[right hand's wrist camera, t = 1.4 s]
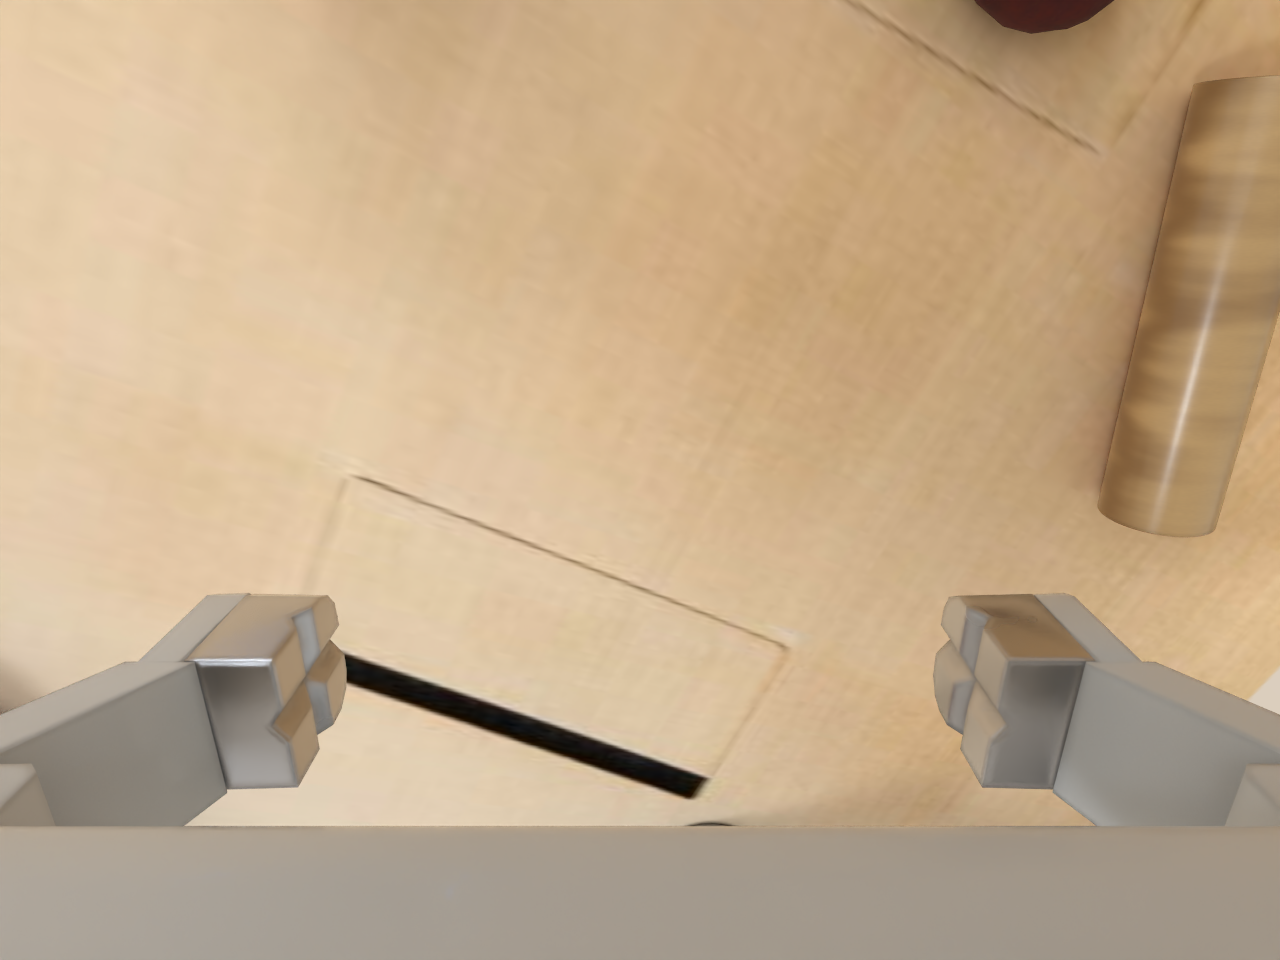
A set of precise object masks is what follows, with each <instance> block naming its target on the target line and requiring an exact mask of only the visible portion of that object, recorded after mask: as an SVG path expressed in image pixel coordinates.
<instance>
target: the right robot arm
mask: <svg viewBox="0 0 1280 960" xmlns="http://www.w3.org/2000/svg"><path fill="white" fill-rule="evenodd" d="M338 626H339V622H338V618H337V613H336V608H335V603H334V602H333V601H332V600H331V599H330V597H329V596H328V595H283V594H249V593H237V594H214V595H207V596H206V597H205V598H204V599H203V600H202V601H201V602H200V603H199V604H198V605H197V606H196V607H195V608H193V609H192V610H191V611H190V612H189V613H188V614H187V615H186V616H185V617H184V618H183V619H182V620H181V621H180V622H179V623H178V624H177V625H176V626H175V627H174V628H173V629H172V630H171V631H169V632H168V633H167V634H166V635H165V636H164V637H163V638H162V639H161V640H160V641H159V642H158V643H157V644H156V645H155V646H154V647H153V648H152V649H151V650H150V651H149V652H148V653H147V654H145V655H144V656H143V657H142V658H141V659H140V660H139V661H138V662H124V663H121V664H119V665H117V666H114V667H112V668H109V669H107V670H105V671H102V672H100V673H98V674H95V675H93V676H91V677H88V678H86V679H83V680H81V681H79V682H76V683H74V684H72V685H69V686H67V687H65V688H62V689H60V690H57V691H55V692H53V693H50V694H48V695H46V696H43V697H41V698H39V699H36V700H34V701H31V702H29V703H27V704H24V705H22V706H20V707H17V708H15V709H13V710H10V711H8V712H5V713H3V714H1V715H0V960H1280V715H1279V714H1277V713H1274V712H1272V711H1270V710H1267V709H1265V708H1262V707H1260V706H1258V705H1255V704H1253V703H1251V702H1248V701H1246V700H1244V699H1241V698H1239V697H1237V696H1234V695H1232V694H1229V693H1227V692H1225V691H1222V690H1220V689H1218V688H1215V687H1213V686H1211V685H1208V684H1206V683H1204V682H1201V681H1199V680H1196V679H1194V678H1192V677H1189V676H1187V675H1185V674H1182V673H1180V672H1178V671H1175V670H1173V669H1171V668H1168V667H1166V666H1163V665H1161V664H1159V663H1156V662H1142V661H1141V660H1140V659H1139V658H1138V657H1137V656H1136V655H1135V654H1134V653H1133V652H1132V651H1130V650H1129V649H1128V648H1127V647H1126V646H1125V645H1124V644H1123V643H1122V642H1121V641H1120V640H1119V639H1118V638H1117V637H1116V636H1115V635H1114V634H1113V633H1112V632H1111V631H1110V630H1109V629H1108V628H1107V627H1105V626H1104V625H1103V624H1102V623H1101V622H1100V621H1099V620H1098V619H1097V618H1096V617H1095V616H1094V615H1093V614H1092V613H1091V612H1090V611H1089V610H1088V609H1087V608H1086V607H1085V606H1084V605H1083V604H1082V603H1081V602H1079V601H1078V600H1077V599H1076V598H1075V597H1074V596H1072V595H1068V594H1065V593H1052V594H1014V595H973V596H953V597H949V599H948V601H947V603H946V605H945V607H944V611H943V617H942V622H941V626H942V627H943V629H944V630H945V632H946V633H947V635H948V636H949V638H950V640H949V641H948V642H947V643H946V644H945V645H944V646H943V647H942V648H941V649H940V650H939V651H938V652H937V653H936V659H935V666H934V674H933V678H934V689H935V697H936V701H937V704H938V707H939V711H940V713H941V715H942V716H943V718H944V720H945V722H946V724H947V725H948V726H950V727H951V728H953V729H954V730H956V731H958V732H959V733H961V734H962V735H963V737H962V743H961V748H960V749H961V751H962V753H963V754H964V756H965V758H966V760H967V761H968V763H969V765H970V767H971V768H972V770H973V772H974V774H975V776H976V777H977V779H978V781H979V783H980V784H981V786H982V787H987V788H1024V789H1053V793H1054V794H1055V795H1057V796H1058V797H1059V798H1061V799H1062V800H1063V801H1065V802H1066V803H1067V804H1068V805H1070V806H1071V807H1072V808H1074V809H1075V810H1076V811H1078V812H1079V813H1080V814H1082V815H1083V816H1084V817H1085V818H1087V819H1088V820H1089V821H1091V822H1092V823H1093V824H1095V825H1096V826H184V825H186V824H187V823H188V822H190V821H191V820H192V819H193V818H195V817H196V816H197V815H199V814H200V813H201V812H203V811H204V810H205V809H207V808H208V807H209V806H211V805H212V804H213V803H214V802H216V801H217V800H218V799H220V798H221V797H222V796H224V795H225V794H226V793H227V789H255V788H291V787H298V786H299V785H300V783H301V781H302V779H303V777H304V776H305V774H306V772H307V770H308V769H309V767H310V765H311V763H312V762H313V760H314V758H315V756H316V754H317V753H318V751H319V749H320V748H319V743H318V737H317V735H318V734H319V733H321V732H322V731H324V730H326V729H327V728H329V727H330V726H332V725H333V724H334V722H335V720H336V718H337V716H338V714H339V712H340V711H341V708H342V704H343V699H344V695H345V691H346V664H345V658H344V653H343V652H342V651H341V650H340V649H339V648H338V647H337V646H336V645H335V644H334V643H333V642H332V641H331V640H330V638H331V636H332V635H333V633H334V632H335V630H336V629H337V627H338Z"/></svg>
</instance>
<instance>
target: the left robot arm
mask: <svg viewBox="0 0 1280 960" xmlns="http://www.w3.org/2000/svg"><path fill="white" fill-rule="evenodd" d="M696 826H725V825H719V824H703V825H696Z"/></svg>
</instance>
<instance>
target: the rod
mask: <svg viewBox="0 0 1280 960" xmlns="http://www.w3.org/2000/svg"><path fill="white" fill-rule="evenodd" d="M1279 312H1280V75H1273V76H1258V77H1245V78H1233V79H1223V80H1215V81H1207V82H1201V83H1197V84H1194V85H1193V89H1192V94H1191V98H1190V102H1189V107H1188V111H1187V116H1186V120H1185V124H1184V129H1183V133H1182V137H1181V142H1180V146H1179V151H1178V155H1177V159H1176V164H1175V168H1174V172H1173V177H1172V181H1171V186H1170V190H1169V194H1168V199H1167V203H1166V207H1165V212H1164V216H1163V221H1162V225H1161V229H1160V234H1159V238H1158V242H1157V247H1156V251H1155V256H1154V260H1153V264H1152V269H1151V273H1150V277H1149V282H1148V286H1147V291H1146V295H1145V299H1144V304H1143V308H1142V312H1141V317H1140V321H1139V325H1138V330H1137V334H1136V339H1135V343H1134V347H1133V352H1132V356H1131V360H1130V365H1129V369H1128V374H1127V378H1126V382H1125V387H1124V391H1123V395H1122V400H1121V404H1120V409H1119V413H1118V417H1117V422H1116V426H1115V430H1114V435H1113V439H1112V444H1111V448H1110V452H1109V457H1108V461H1107V465H1106V470H1105V474H1104V479H1103V483H1102V487H1101V492H1100V496H1099V500H1098V509H1099V511H1100V512H1101V513H1102V514H1103V515H1104V516H1106V517H1107V518H1109V519H1111V520H1113V521H1114V522H1117V523H1119V524H1121V525H1124V526H1126V527H1129V528H1132V529H1136V530H1139V531H1143V532H1147V533H1152V534H1157V535H1164V536H1172V537H1198V536H1203V535H1207V534H1210V533H1211V532H1213V531H1214V530H1215V528H1216V525H1217V522H1218V518H1219V515H1220V511H1221V508H1222V505H1223V501H1224V498H1225V494H1226V491H1227V488H1228V484H1229V481H1230V478H1231V474H1232V471H1233V467H1234V464H1235V461H1236V457H1237V454H1238V450H1239V447H1240V444H1241V440H1242V437H1243V434H1244V430H1245V427H1246V423H1247V420H1248V417H1249V413H1250V410H1251V406H1252V403H1253V400H1254V396H1255V393H1256V390H1257V386H1258V383H1259V379H1260V376H1261V373H1262V369H1263V366H1264V362H1265V359H1266V356H1267V352H1268V349H1269V346H1270V342H1271V339H1272V335H1273V332H1274V329H1275V325H1276V322H1277V318H1278V315H1279Z"/></svg>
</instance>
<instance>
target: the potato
mask: <svg viewBox="0 0 1280 960" xmlns="http://www.w3.org/2000/svg"><path fill="white" fill-rule="evenodd" d="M975 1H976V3H977V4H978V5H979V6H980V7H981V8H983V9H984V10H985V11H986V12H987V13H988V14H990V15H991V16H992V17H993V18H994V19H995V20H996V21H998V22H999V23H1000V24H1001V25H1002V26H1004V27H1008V28H1011V29H1015V30H1019V31H1023V32H1027V33H1031V34H1032V33H1039V32H1046V31H1053V30H1061V29H1068V28H1070V27H1073V26H1075V25H1077V24H1080V23H1082V22H1085V21H1087V20H1089V19H1090V18H1091V17H1093V16H1094V15H1095V14H1097V13H1098V12H1099V11H1101V10H1102V9H1103V8H1104V7H1106V6H1107V5H1108V4H1110V3H1111V2H1112V1H1114V0H975Z"/></svg>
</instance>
